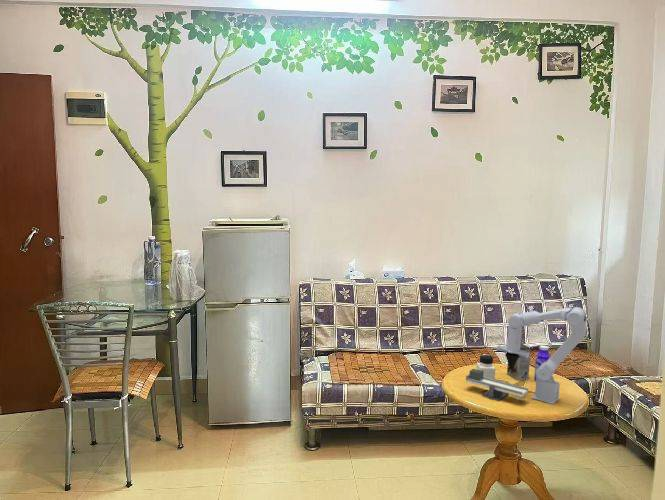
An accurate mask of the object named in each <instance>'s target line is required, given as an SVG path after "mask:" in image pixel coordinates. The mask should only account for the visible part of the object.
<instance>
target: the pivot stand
mask: <svg viewBox="0 0 665 500" xmlns="http://www.w3.org/2000/svg"><path fill="white" fill-rule="evenodd" d="M498 381H502V382H504V381H503V380H498ZM508 394H509V395H510V393H506V392H502V391H499V390H495V389H494V387H493V386H489V388H488V390H486V391H485V392H484V393H482V395H481V396H482V397H484V398H487V399H491V400H494V401H498V402H500V401H502V400H504V399H505V398H506V397H507V395H508ZM509 395H508V396H509Z"/></svg>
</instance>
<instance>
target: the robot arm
mask: <svg viewBox="0 0 665 500" xmlns="http://www.w3.org/2000/svg"><path fill="white" fill-rule="evenodd" d="M555 319H559V320H562V321H563V322H566V321H567V323H568V324H569V326H570V330H571V334H570V335H569V336H568V337H567V338H566V339H565V341H564V342H562V344H561V345H560V346H559V348H557V350H556V351H554V353H553V354H552V355H551V356H550V357H549V360H548V361H546V362H543V363H542V364H541V366H540V367H539V368H538V369H537V371H536V376H537V377H536V380H535V391H534V395H532V396H531V399H533V400H537V401H539V402H544V403H548V404H550V405H554V404H555V403H556V402H557V401H559V399H560V398H559V397H560V382H559V381H556V380H555V378H554V376H553V375H554V374H555V371H556V369H557V368H558V366H559V365H560V364H561V363H562V362H563V361H565V358H567V356H569V354H570V353H571V352H572V351H573V350H574V349H575V348H576V346H577V345H578V344H579V343H580V342H581V341H582V340H583V338H584V337H585V336H586V335H587V323H588V322H587V321H588V317H587V314H586V311H585V310H584V308H582V307H579V306H575V307H565V308H559V309H558V308H557V309H554V310H550V311H549V310H548V311H544V312H538V311H536V310H533V309H530V310H529V311H528V312H527V311H526V312H522V311H521V312H520V311H519V312H518V313H513V314H512V315H510V316H509V318H508V320H507V324H508V330H507V331H508V332H507V341H506V342H507V343H506V346H505V345H497V346H496V350H497V351H501V352H504V353H505V355H504V356H505V357H506V360H507V365H508V364H509V369H511V370H512V369H514V366H515V363H516V361H517V360H518V358H519V357H520V356H524V357H526V358H529V357H530V358H531V354H530V353H528V352H525V351H523V350H520V344H521V343H522V341H521V340H522V333H523V332H522V330H523V326H524V327H526V326H533V325H539V324H540V323H541V321H547V320H548V321H549V320H555Z"/></svg>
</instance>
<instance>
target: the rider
mask: <svg viewBox="0 0 665 500" xmlns="http://www.w3.org/2000/svg"><path fill="white" fill-rule="evenodd" d="M468 374H469V378H471V379H475V380H479V381H482V380H483V371H481V370H477V368H476V369H475V368H472V369H471V370H469V373H468Z"/></svg>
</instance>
